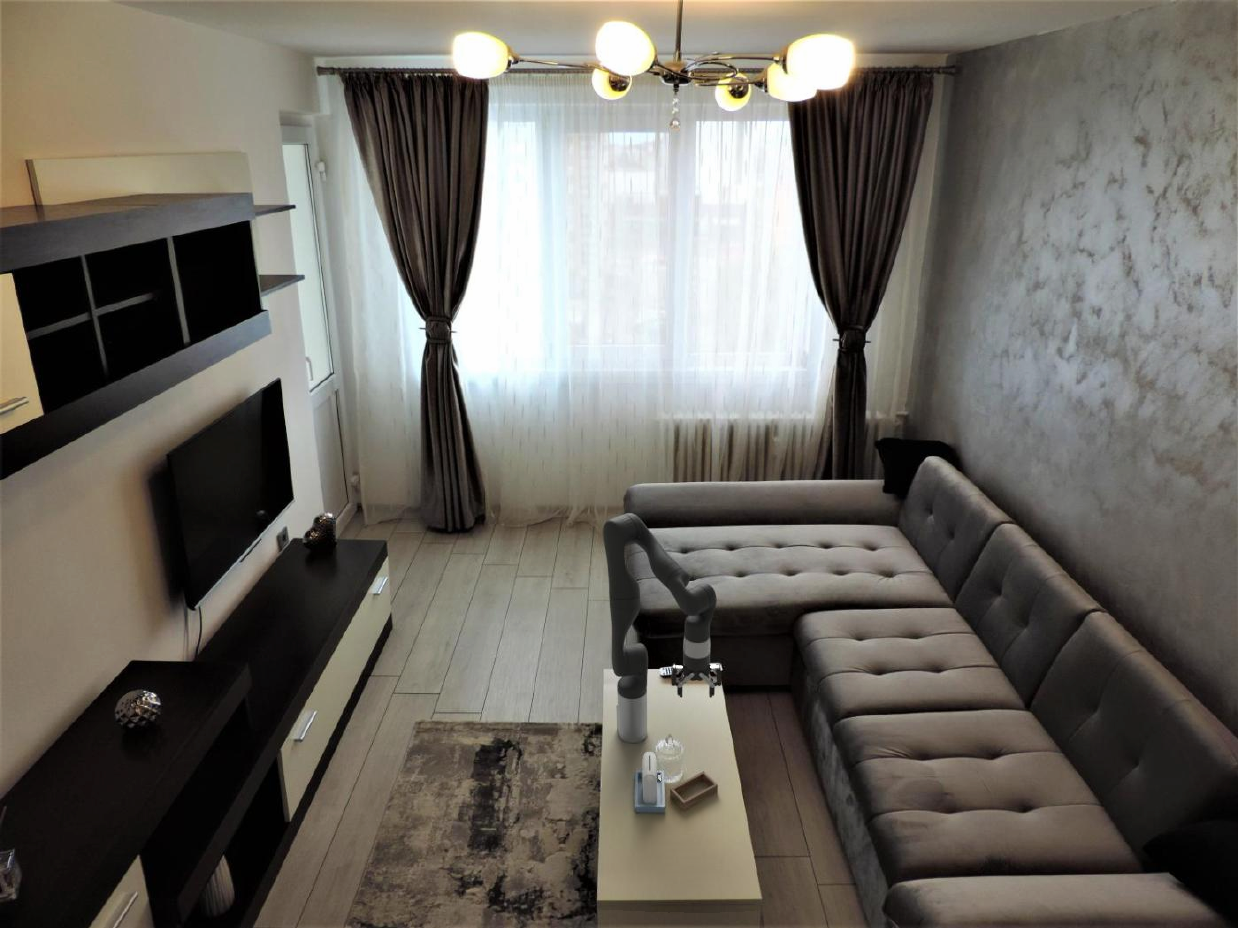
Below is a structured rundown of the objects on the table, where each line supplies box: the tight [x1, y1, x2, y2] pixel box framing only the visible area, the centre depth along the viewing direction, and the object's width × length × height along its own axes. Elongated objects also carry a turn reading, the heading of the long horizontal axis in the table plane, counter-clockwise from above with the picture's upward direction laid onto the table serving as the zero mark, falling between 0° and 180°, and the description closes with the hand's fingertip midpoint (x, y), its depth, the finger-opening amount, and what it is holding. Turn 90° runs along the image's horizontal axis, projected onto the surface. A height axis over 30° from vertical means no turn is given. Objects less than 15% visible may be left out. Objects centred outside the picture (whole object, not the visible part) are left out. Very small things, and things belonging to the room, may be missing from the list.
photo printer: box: [641, 751, 658, 805], centre depth 251 cm, size 10×4×12 cm, turn 179°
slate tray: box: [634, 770, 666, 815], centre depth 253 cm, size 14×9×2 cm, turn 179°
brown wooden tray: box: [669, 770, 719, 812], centre depth 253 cm, size 7×12×3 cm, turn 124°
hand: (695, 695), depth 251 cm, fingers open, 8 cm apart
